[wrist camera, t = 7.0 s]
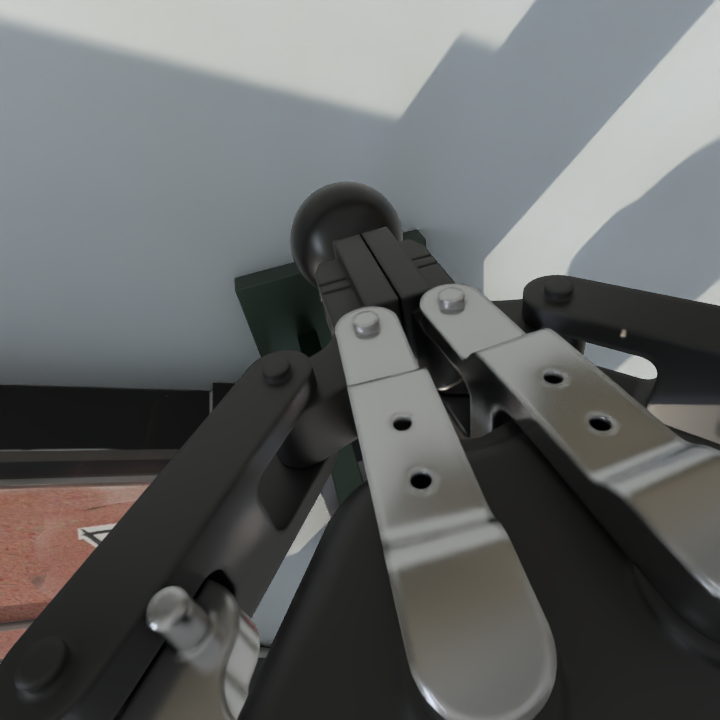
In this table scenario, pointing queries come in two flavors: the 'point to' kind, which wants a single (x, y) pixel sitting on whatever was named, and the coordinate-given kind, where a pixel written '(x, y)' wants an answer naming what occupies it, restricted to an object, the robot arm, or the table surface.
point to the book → (76, 478)
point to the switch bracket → (296, 333)
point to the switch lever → (337, 222)
